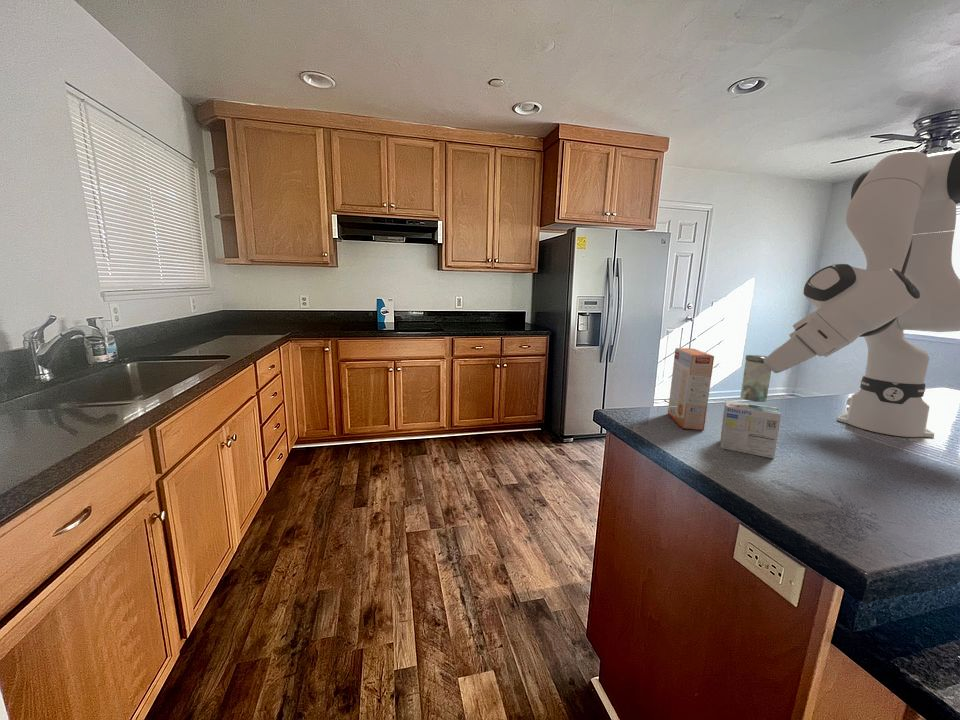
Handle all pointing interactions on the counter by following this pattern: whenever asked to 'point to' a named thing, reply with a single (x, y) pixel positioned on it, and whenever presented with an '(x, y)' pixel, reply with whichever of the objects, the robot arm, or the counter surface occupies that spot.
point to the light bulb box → (750, 428)
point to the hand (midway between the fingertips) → (753, 373)
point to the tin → (755, 380)
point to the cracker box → (690, 387)
